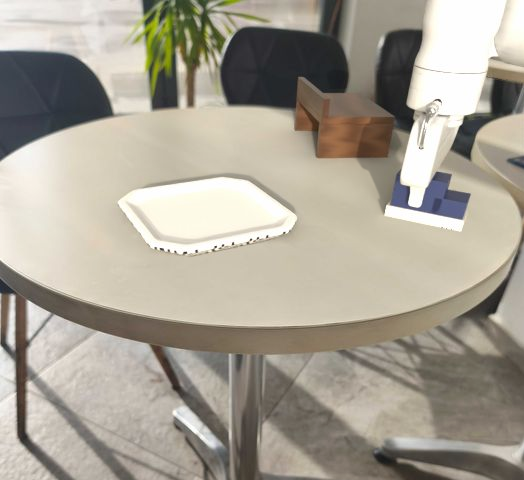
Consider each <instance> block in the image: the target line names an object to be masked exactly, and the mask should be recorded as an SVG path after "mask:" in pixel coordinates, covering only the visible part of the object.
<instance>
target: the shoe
mask: <svg viewBox="0 0 524 480" xmlns="http://www.w3.org/2000/svg"><path fill="white" fill-rule="evenodd" d="M401 169H402V167H401V168H400V169H399V170H398V172H397V173H396V175H395V180H394V184H393V190H392V194H391V198H390V200H389V201H388V202H387V204H386V206H385V210H384V217H390V218H394V219H398V220H403V221H408V222H413V223H417V224H422V225H427V226H432V227H437V228H441V227H443V228H442V229H446V228H447V230H451V229H452V231H456V232H462V230H463V228H464V225H465V222H466V218H467V216H468V212H469V209H468V206H469V202H470V198H471V195H472V194H471V193H470V192H466V191H465V192H464V191H459V190H454V189H449V188H450V183H451V180H452V177H453V174H452V173H448V172H444V171H443V172H442V171H437V172H436V173H435V175H434V177H433V178H432V180H431V182H430V183H429V185H428V187H427V188H426V190H425V195H424V199H423V203H422V204H421V206H420V207H412V206H409V204H408V201H409V197H410V186H406V185H402V184H401V183H400V174H401Z"/></svg>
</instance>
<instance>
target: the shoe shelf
mask: <svg viewBox="0 0 524 480" xmlns="http://www.w3.org/2000/svg"><path fill="white" fill-rule="evenodd" d="M295 100H296V102H295V115H294V128H293V129H294V131H298V132H300V131H304V132H305V131H307V132H311V131H313V132H314V131H318V132H317V141H316V142H317V143H316V151H315V157H316V158H317V159H342V158H343V159H347V158H348V159H350V158H355V159H356V158H388V157H389V152H390V146H391V141H392V136H393V130H394V126H395V121H396V116H395V115H393V114H391V112H389V111H387V110H386V109H384V108H383V107H381V106H380V105H378V104H377V103H375V102H374V101H372V99H370V98H368V97H367V96H365V95H364V94H362V93H361V92H322V90H320V89H319V88H318V87H316V85H314V84H313V83H312V82H311V81H309V79H307V78H306V77H304V76H298V77H297V89H296V99H295Z"/></svg>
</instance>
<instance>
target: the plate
mask: <svg viewBox="0 0 524 480" xmlns="http://www.w3.org/2000/svg"><path fill="white" fill-rule="evenodd" d="M117 206H118V207H119V209H120V211H122V213H123V214H124V215H125V217H126V219H128V220H129V222H130V224H132V226H133V227H134V229H136V231H137V232H138V234H139V235H140V237H142V239H143V240H144V242H145V243H146V244H147V245H148V247H149V248H151V249H153V250H156V251H160V252H164V253H168V254H169V253H170V254H174V255H180V256H185V257H192V256H193V257H194V256H200V255H204V254H209V253H213V252H219V251H223V250H228V249H232V248H238V247H242V246H246V245H252V244H256V243H261V242H266V241H270V240H273V239H275V238H278V237H281V236H285V235H287V234H289V233H290V232H291V231H292V230H293V229H294V227H295V225H296V223H297V221H298V216H297V215H296V213H294V212H292V211H291V210H290V209H288V208H287V207H285V206H284V205H283V204H281V202H279V201H277V200H276V199H275V198H273V197H272V196H270V195H269V194H267V192H266V191H263V190H262V189H261V188H259V187H258V186H257V185H256V184H254V183H253V182H251V181H250V180H246V179H242V178H234V177H228V176H227V177H226V176H219V177H212V178H206V179H205V178H204V179H199V180H191V181H184V182H180V183H179V182H177V183H171V184H164V185H157V186H150V187H143V188H136V189H133V190H131V191H129V192H128V193H127V194H125V195H124V196H122V197H121V198H120V199H119V200H118V201H117Z"/></svg>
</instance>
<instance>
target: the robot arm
mask: <svg viewBox="0 0 524 480" xmlns="http://www.w3.org/2000/svg"><path fill="white" fill-rule="evenodd" d="M421 29H422V38H421V43H420V46H419V47H420V48H419V50H418V53H417V55H416V56H415V58H414V62H413V68H412V72H411V78H410V84H409V87H408V92H407V93H408V94H407V98H406V104H405V105H406V106H407V107H408V108H410V109H412V110H414V113H413V117H412V119H413V124H412V127H411V130H410V134H409V137H408V141H407V145H406V148H405V152H404V157H403V161H402V166H401V168H402V169H401V168H400V169H401V174H400V183H401V184H402V185H406V186H410V197H409V201H408V204H409V206H412V207H420V206H421V204H422V203H423V199H424V195H425V190H426V188H427V187H428V185H429V183H430V182H431V180H432V178H433V177H434V175H435V173H436V172H438V170H439V168H440V167H441V165H442V164H443V162H444V160H445V158H446V157H447V155H448V153H449V151H450V150H451V148H452V146H453V144H454V141H455V139H456V137H457V135H458V131H459V128H460V126H462V125H463V122H464V118H465V116H468V115H469V116H470V115H472V114H475V113H476V112H477V110H478V106H479V102H480V99H481V95H482V91H483V88H484V84H485V81H486V79H487V75H488V70H489V67H490V66H489V64H490V60H494V61H498V62H503V63H504V64H508V65H513V66H516V67H522V68H524V0H426V2H425V7H424V11H423V16H422V23H421Z"/></svg>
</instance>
